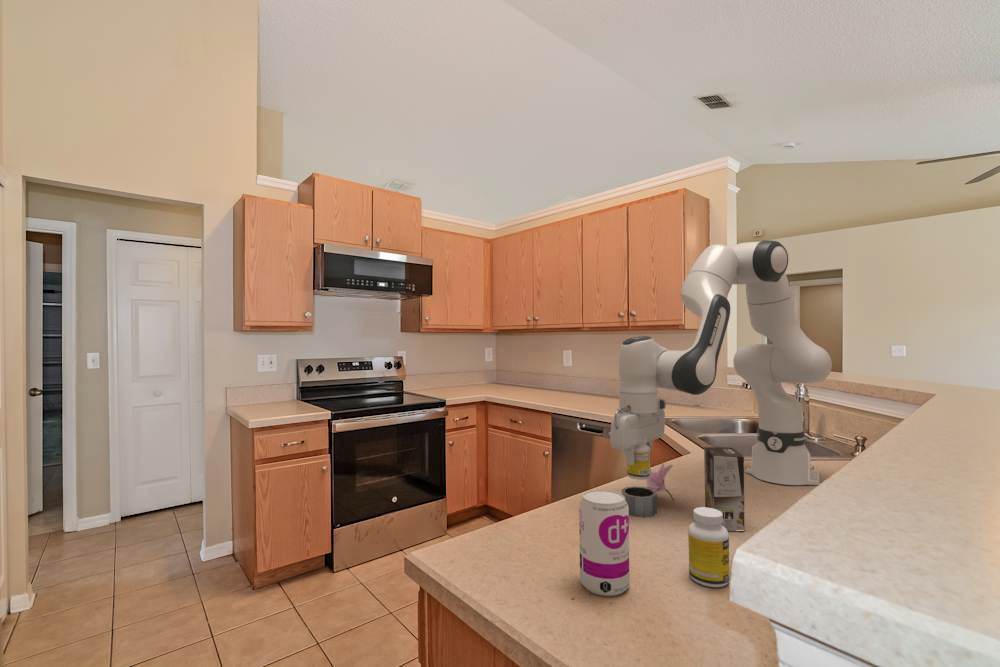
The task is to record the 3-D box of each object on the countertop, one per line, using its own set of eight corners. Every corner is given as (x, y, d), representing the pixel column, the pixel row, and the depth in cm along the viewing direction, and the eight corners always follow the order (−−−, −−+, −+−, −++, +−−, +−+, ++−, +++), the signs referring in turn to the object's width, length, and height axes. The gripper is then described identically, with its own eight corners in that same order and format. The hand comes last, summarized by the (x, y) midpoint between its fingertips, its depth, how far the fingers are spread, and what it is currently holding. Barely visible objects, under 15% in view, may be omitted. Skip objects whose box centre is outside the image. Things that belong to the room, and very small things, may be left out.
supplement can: (639, 593, 78) (638, 501, 78) (594, 601, 76) (592, 507, 76) (613, 570, 86) (612, 486, 86) (572, 577, 83) (571, 491, 84)
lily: (649, 494, 130) (633, 464, 129) (691, 483, 124) (674, 452, 123) (644, 522, 119) (626, 490, 118) (690, 512, 113) (671, 479, 113)
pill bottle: (722, 593, 78) (721, 522, 78) (682, 579, 82) (681, 512, 82) (735, 578, 82) (734, 511, 82) (697, 566, 87) (696, 502, 87)
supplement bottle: (631, 472, 118) (631, 432, 118) (653, 476, 115) (653, 435, 115) (623, 477, 114) (623, 436, 114) (646, 481, 111) (645, 439, 111)
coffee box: (746, 532, 101) (745, 456, 101) (713, 530, 103) (712, 455, 103) (734, 516, 110) (733, 446, 110) (704, 514, 112) (703, 445, 112)
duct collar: (632, 502, 120) (632, 484, 120) (662, 510, 114) (662, 491, 114) (615, 511, 114) (615, 492, 114) (646, 519, 109) (646, 500, 109)
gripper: (627, 410, 105) (628, 473, 105) (669, 400, 119) (669, 456, 119) (602, 407, 109) (603, 467, 109) (646, 398, 124) (646, 451, 124)
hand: (638, 461), depth 114 cm, fingers closed on supplement bottle, 5 cm apart
